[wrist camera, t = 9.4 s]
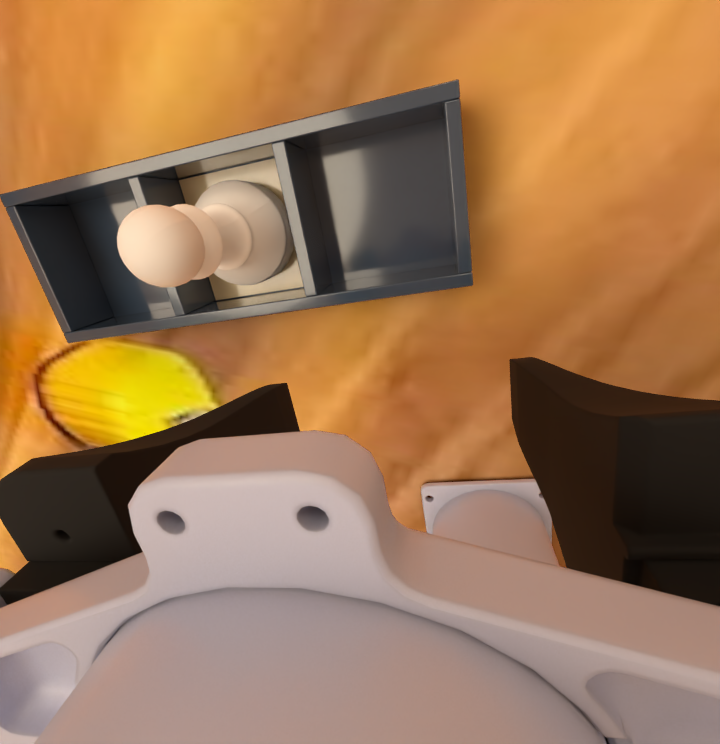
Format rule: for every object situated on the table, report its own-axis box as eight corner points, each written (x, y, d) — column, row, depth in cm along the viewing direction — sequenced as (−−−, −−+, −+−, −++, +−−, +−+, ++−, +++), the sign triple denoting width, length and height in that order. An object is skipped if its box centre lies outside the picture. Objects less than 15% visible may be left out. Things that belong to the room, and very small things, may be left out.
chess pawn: (252, 298, 23) (152, 352, 14) (188, 227, 22) (41, 240, 13) (315, 239, 21) (240, 262, 13) (248, 158, 20) (119, 124, 12)
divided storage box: (466, 272, 21) (473, 285, 17) (115, 325, 25) (67, 343, 22) (453, 102, 18) (458, 78, 15) (62, 196, 23) (-2, 194, 19)
